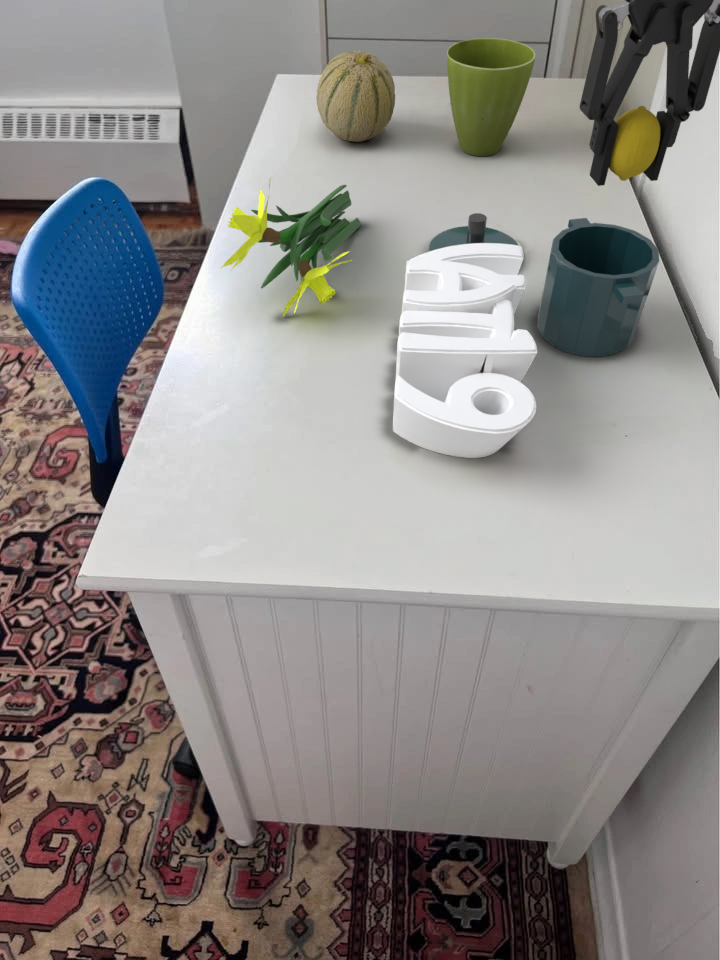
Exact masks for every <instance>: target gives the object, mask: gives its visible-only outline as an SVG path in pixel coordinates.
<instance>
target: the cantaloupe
mask: <svg viewBox="0 0 720 960" xmlns="http://www.w3.org/2000/svg"><path fill="white" fill-rule="evenodd" d="M395 91H396V85H395V82H394V78H393V75H392V74H391V71H390V70H389V68H388V67H387V65H386V64H385V63H384V62H382V61H381V60H380V59H379V58H378V57H377V56H376V55H374V54H372V53H370V52H366V51H364V50H350V51H345V52H342V53H339V54H337V55H336V56H334V57H333V58H331V60H329V62H328V63H327V65H326V66H325V68H324V70H323V71H322V74H321V76H320V78H319V80H318V83H317V87H316V97H315V98H316V99H315V100H316V106H317V112H318V113H319V116H320V120H321V122H322V123H323V124H324V126H325V128H326V129H327V130H329V131H330V132H331V133H332V134H333V135H334V136H335V137H337V138H338V139H341V140H344V141H347V142H354V143H362V142H366V141H370V140H371V139H374V138H375V137H377V136H378V135H380V134H381V133H382V132H383V131H384V130H385V129H386V128H387V126H388V125H389V123H390V122H391V119H392V117H393V114H394V109H395V105H396V92H395Z"/></svg>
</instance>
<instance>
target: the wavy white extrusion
mask: <svg viewBox="0 0 720 960" xmlns="http://www.w3.org/2000/svg"><path fill="white" fill-rule="evenodd" d="M518 245H519V244H518ZM518 245H511V244H499V243H473V244H462V245H455V246H449V247H444V248H440V249H436V250H433V251H429V250H428V251H426V252H424V253H421V254H419V255H416V256H414V257H412V258H410V259H408V260H406V265H405V276H404V290H403V294H402V304H401V313H400V317H399V324H398V337H397V342H396V343H397V344H396V365H395V384H394V395H393V397H394V398H393V414H392V432H393V433H395V434H396V435H398V436H399V437H400V438H402V439H404V440H406V441H407V442H409V443H411V444H413V445H415V446H417V447H420V448H422V449H425V450H428V451H430V452H433V453H438V454H442V455H446V456H450V457H457V458H465V459H480V458H485V457H488V456H491V455H493V454H495V453H497V452H499V450H501V449H502V448H503V447H504V446H505V445H506V444H507V443H508V442H509V441H511V440H512V439H513V438H514V437H515V436H516V435H517V434H518V433H519V432H520V431H521V430H523V429H524V428H525V427H526V426H527V425H528V424H529V423H530V422H531V420H533V418H534V416H535V414H536V412H537V402H536V398H535V395H534V394H533V392H532V391H531V390H530V389H529V387H527V386H526V385H525V384H524V383H522V382H523V379H524V378H525V376H526V374H527V372H528V370H529V368H530V367H531V365H532V363H533V362H534V359H535V358H536V356H537V354H538V347H537V343H536V341H535V339H534V337H533V335H532V334H531V333H530V332H529V331H528V330H527V329H522V328H517V329H516V330H515V313H516V311H517V309H518V306H519V304H520V301H521V299H522V297H523V294H524V292H525V289H526V287H527V279H526V276H525V275H523V274H519V272H520V269H521V267H522V264H523V261H524V250H523V246H521V245H519V246H518Z"/></svg>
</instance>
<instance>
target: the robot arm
mask: <svg viewBox="0 0 720 960" xmlns="http://www.w3.org/2000/svg"><path fill="white" fill-rule="evenodd" d="M626 17H627V18H628V21H629V23H630V27H629V30H628V31H627V34H626V36H625V38H624V41H623V48H622V50H621V52H620V54H619V57H618V59H617V60H616V64H615V65H614V67H613V70H612V72H611V74H610V71H611V68H612V64H613V60H614V56H615V52H616V48H617V44H618V38H619V31H621V30H622V29H623V27H624V26H623V25H624V21H625V18H626ZM702 17H703V18H704V22H703V23H702V26H701V30H700V33H699V36H698V41H697V44H696V48H695V52H694V56H693V60H692V64H691V67H690V53H691V52H690V51H691V50H692V49H693V36H694V34H693V33H694V32H693V31H694V27H695V25H696V24H697V23H698V22H699V21H700V20H701V19H702ZM595 24H596V25H595V26H596V27H595V28H596V33H595V34H596V35H595V39H594V44H593V46H592V52H591V55H590V60H589V64H588V68H587V73H586V77H585V80H584V81H585V82H584V84H583V85H584V86H583V90H582V94H581V98H580V103H579V110H580V112H582V113H583V115H584V116H585V117H586V118H587V119H588V120H590V121H593V125H592V129H591V135H590V139H589V144H588V145H589V150H591V152H592V153H593V158H592V161H591V167H590V170H589V176H590V178H592V180H593V181H594V183H595V184H596V185H597V187H601V186H605V184H606V181H607V176H608V172H609V170H610V169H609V165H610V160H611V156H612V152H613V148H614V144H615V140H616V136H617V131H618V127H619V125H618V124H617V123H616V120H614V119H615V118H616V116H617V114H618V112H619V110H620V108H621V105H622V103H623V101H624V99H625V97H626V95H627V93H628V90H629V89H630V87H631V85H632V84H633V83H632V82H633V81H634V79H635V77H636V74H637V73H638V71H639V69H640V66H641V64H642V62H643V61H644V58H646V57H648V56H649V54H650V52H651V51H652V48H653V46H656V45H658V44H659V45H660V44H662V43H665V46H666V78H665V79H666V81H665V84H666V85H665V86H666V87H665V109H666V111H665V110H660V111H659V110H657V112H656V115H655V116H656V118H657V120H658V122H659V125H660V142H659V147H658V151H657V154H656V156H655V158H654V160H653V162H652V163H651V165H650V166H649V167H648V168H647V169H646V170H645V171H644V172H643V173H642V174H644V175H645V176H646V177H647V178H648V179H649V181H650V182H655V181H658V180H659V176H660V172H661V169H662V165H663V163H664V159H665V157H666V154H667V153H666V152H667V149H668V148H672V147H673V146H674V144H675V143H676V140H677V137H678V133H679V130H680V127H681V123H683V122H686V121H687V120H689V118H690V116H691V112H693V111H694V112H700V111H701V110H703V108H705V104H706V101H707V99H708V94H709V92H710V91H709V90H710V88H711V83H712V80H713V76H714V73H715V71H716V70H715V69H716V66H717V63H718V60H719V56H720V0H623V1H620V2H618V3H616V4H613V5H611V6H607V5H605V4H601V5H599V6H598V7H597V9H596V10H595ZM689 70H690V71H689ZM609 75H610V76H609Z"/></svg>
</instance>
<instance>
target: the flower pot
mask: <svg viewBox="0 0 720 960" xmlns="http://www.w3.org/2000/svg"><path fill="white" fill-rule="evenodd" d="M536 53H537V52H536V51H535V50H534V49H533V47H531V46H529V45H527V44H525V43H523V42H519V41H516V40H511V39H507V38H498V37H480V38H471V39H466V40H465V39H464V40H461V41H457V42H456V43H453V44H452V45H450V46H449V47H447V50H446V64H447V84H448V92H449V101H450V109H451V114H452V119H453V124H454V129H455V132H456V137H457V140H458V144H459V148H460V150H461V151H462V152H463V153H464V154H467V155H470V156H474V157H489V156H493V155H496V154H497V153H499V152H500V151H501V149H502V147H503V144H504V143H505V141H506V139H507V137H508V135H509V132H510V130H511V129H512V127H513V124H514V122H515V120H516V117H517V114H518V112H519V110H520V108H521V105H522V102H523V100H524V97H525V94H526V92H527V88H528V85H529V82H530V79H531V75H532V72H533V68H534V65H535V62H536V58H537V54H536Z"/></svg>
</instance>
